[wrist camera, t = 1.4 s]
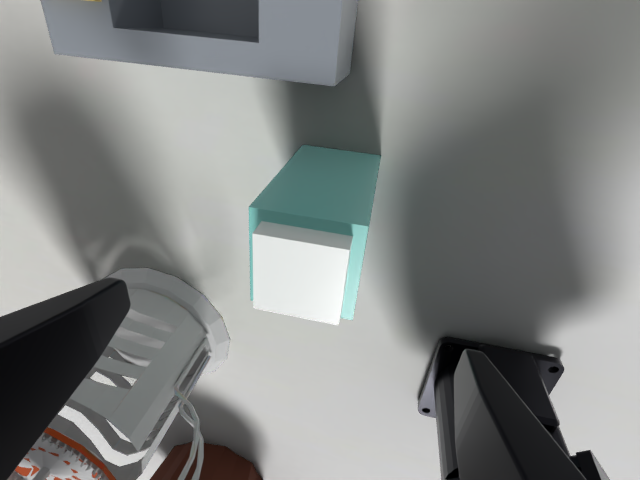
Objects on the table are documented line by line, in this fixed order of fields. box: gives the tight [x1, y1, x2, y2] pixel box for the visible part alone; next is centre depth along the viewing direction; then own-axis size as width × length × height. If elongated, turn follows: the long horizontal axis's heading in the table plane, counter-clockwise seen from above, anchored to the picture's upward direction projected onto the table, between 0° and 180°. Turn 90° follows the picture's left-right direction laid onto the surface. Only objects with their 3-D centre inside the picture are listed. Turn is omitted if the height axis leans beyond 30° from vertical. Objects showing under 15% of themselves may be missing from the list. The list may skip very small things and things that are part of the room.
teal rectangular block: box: [249, 145, 381, 325], centre depth 14 cm, size 4×4×8 cm
